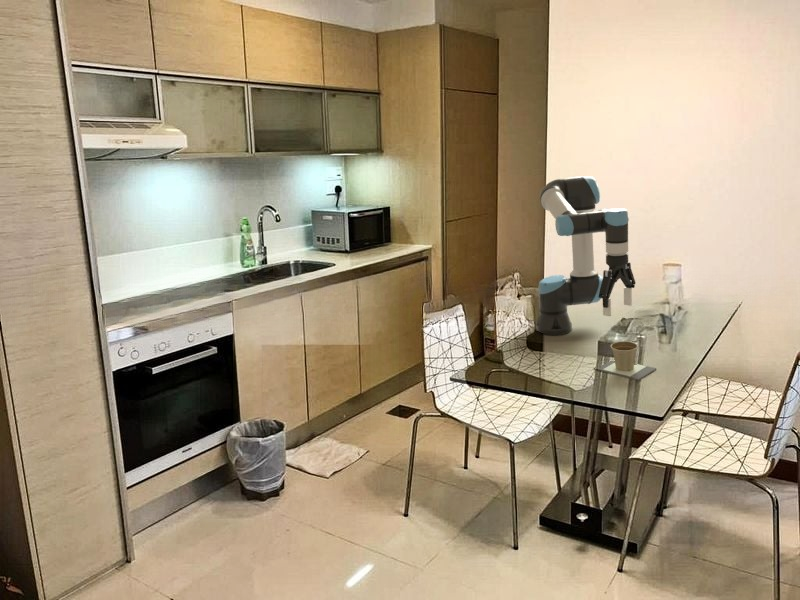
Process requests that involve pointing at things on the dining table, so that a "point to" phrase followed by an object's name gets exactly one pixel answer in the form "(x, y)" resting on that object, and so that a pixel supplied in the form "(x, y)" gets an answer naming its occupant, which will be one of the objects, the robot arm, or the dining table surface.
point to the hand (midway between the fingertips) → (617, 310)
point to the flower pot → (624, 354)
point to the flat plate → (634, 374)
